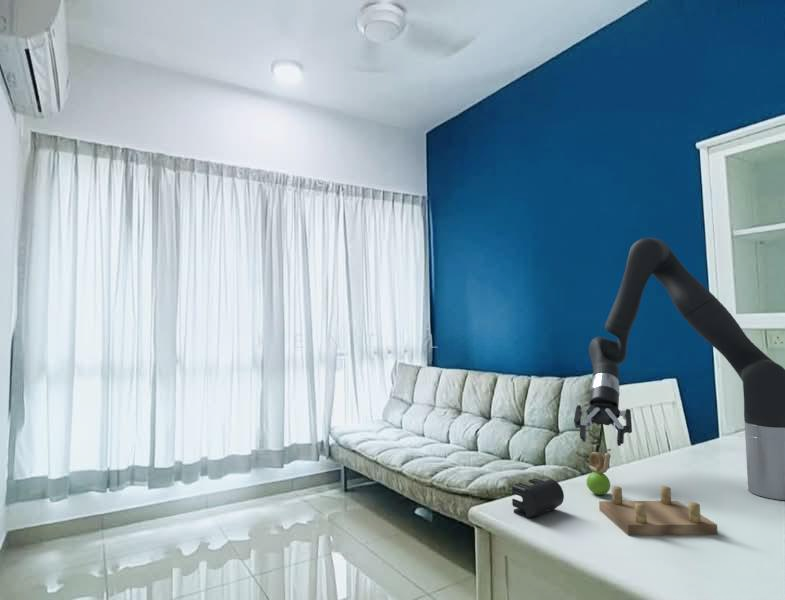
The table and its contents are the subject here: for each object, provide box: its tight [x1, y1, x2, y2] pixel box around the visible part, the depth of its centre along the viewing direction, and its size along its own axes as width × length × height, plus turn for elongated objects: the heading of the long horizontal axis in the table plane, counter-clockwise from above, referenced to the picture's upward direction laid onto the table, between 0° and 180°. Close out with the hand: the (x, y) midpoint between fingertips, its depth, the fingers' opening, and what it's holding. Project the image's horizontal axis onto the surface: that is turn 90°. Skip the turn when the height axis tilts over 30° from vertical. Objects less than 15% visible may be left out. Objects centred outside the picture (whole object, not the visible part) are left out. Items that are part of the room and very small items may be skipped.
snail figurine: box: [586, 448, 612, 496], centre depth 117 cm, size 5×6×12 cm
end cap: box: [511, 477, 565, 519], centre depth 106 cm, size 10×7×7 cm
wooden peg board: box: [598, 485, 718, 536], centre depth 100 cm, size 18×13×6 cm
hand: (601, 442), depth 123 cm, fingers open, 8 cm apart
